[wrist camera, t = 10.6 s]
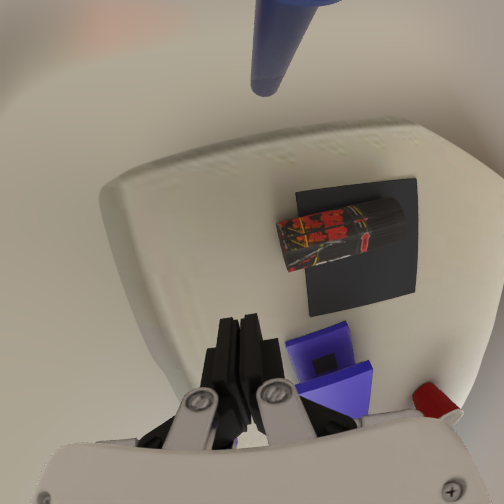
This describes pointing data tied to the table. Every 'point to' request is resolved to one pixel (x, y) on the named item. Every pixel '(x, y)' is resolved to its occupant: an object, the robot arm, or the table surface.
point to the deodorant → (341, 232)
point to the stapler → (331, 371)
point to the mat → (368, 263)
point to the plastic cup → (436, 404)
